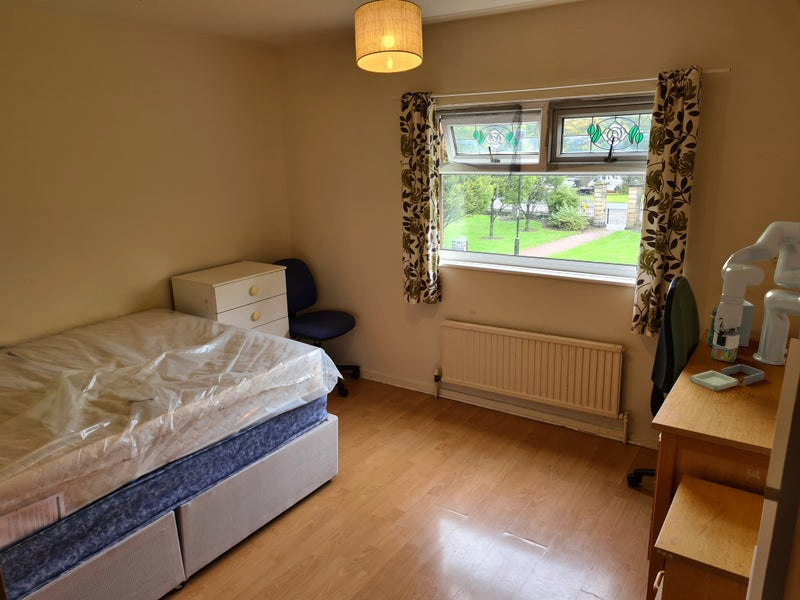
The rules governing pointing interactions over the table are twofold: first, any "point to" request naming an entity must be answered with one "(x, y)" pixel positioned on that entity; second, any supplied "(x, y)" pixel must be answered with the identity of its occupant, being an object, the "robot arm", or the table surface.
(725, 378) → the dock tray
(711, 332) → the coffee jar
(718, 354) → the chalk box
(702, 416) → the table surface
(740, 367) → the bay
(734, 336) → the grey box with knob
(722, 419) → the table surface
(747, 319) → the hard drive box
